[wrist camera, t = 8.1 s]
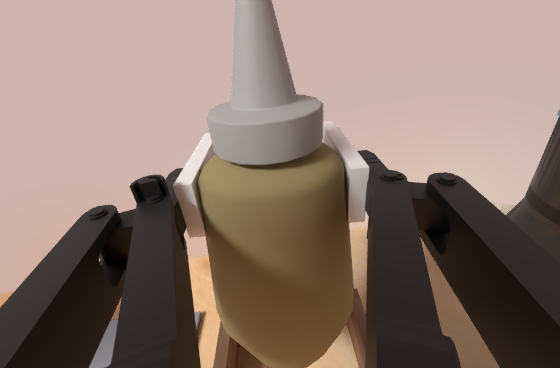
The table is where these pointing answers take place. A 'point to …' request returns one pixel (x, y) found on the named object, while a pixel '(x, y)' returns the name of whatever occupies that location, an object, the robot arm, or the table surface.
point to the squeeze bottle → (275, 206)
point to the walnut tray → (356, 323)
